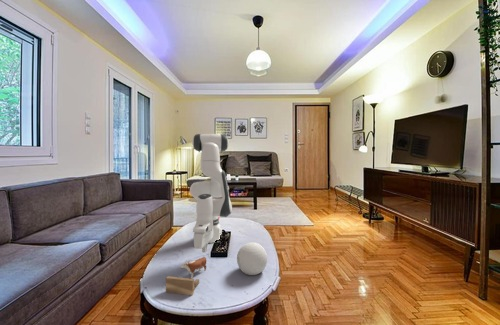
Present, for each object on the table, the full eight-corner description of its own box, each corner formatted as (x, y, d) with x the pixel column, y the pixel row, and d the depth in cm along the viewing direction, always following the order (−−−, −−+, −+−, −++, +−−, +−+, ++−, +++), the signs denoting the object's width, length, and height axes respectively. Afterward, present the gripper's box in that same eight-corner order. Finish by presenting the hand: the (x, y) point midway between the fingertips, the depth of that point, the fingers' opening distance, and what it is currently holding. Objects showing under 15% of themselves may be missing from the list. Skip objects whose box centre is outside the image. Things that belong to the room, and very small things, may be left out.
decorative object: (243, 264, 127) (244, 236, 127) (270, 269, 122) (271, 240, 121) (231, 277, 113) (231, 246, 113) (261, 283, 108) (261, 250, 107)
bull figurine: (180, 278, 112) (180, 261, 112) (204, 269, 121) (204, 253, 121) (184, 281, 109) (184, 264, 109) (209, 272, 118) (209, 255, 118)
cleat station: (176, 280, 109) (176, 268, 109) (201, 283, 107) (201, 270, 107) (165, 292, 100) (165, 278, 100) (192, 295, 98) (192, 280, 98)
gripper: (205, 220, 137) (205, 244, 136) (191, 230, 116) (191, 258, 116) (216, 221, 136) (216, 245, 135) (203, 230, 116) (203, 259, 115)
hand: (204, 251), depth 126 cm, fingers closed
